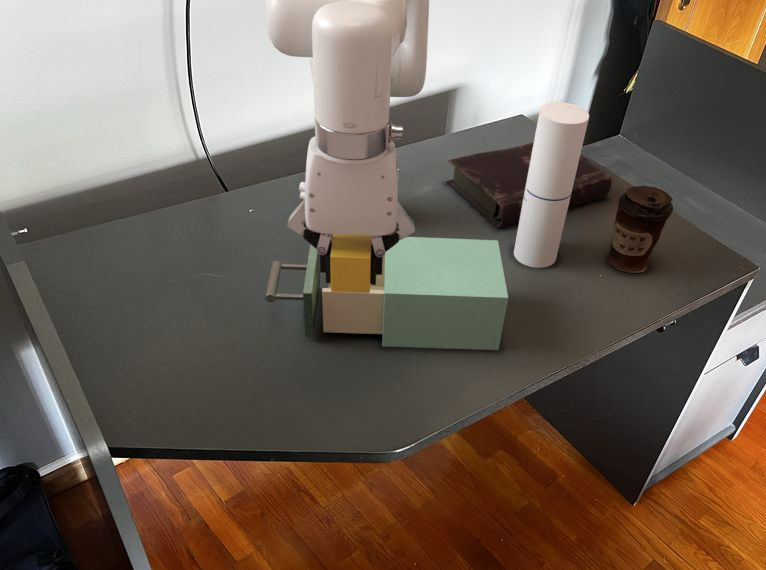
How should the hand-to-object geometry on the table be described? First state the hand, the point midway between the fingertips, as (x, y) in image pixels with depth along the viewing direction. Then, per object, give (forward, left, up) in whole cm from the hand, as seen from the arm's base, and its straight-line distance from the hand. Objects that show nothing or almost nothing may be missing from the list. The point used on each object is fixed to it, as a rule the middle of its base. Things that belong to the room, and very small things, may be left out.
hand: (351, 275), depth 88 cm
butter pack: (0, 0, 0) cm, 0 cm away
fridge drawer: (-6, +12, -16) cm, 21 cm away
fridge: (+7, +17, -17) cm, 25 cm away
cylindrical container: (+17, +38, -17) cm, 46 cm away
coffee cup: (+32, +43, -17) cm, 56 cm away
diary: (+11, +58, -17) cm, 62 cm away
